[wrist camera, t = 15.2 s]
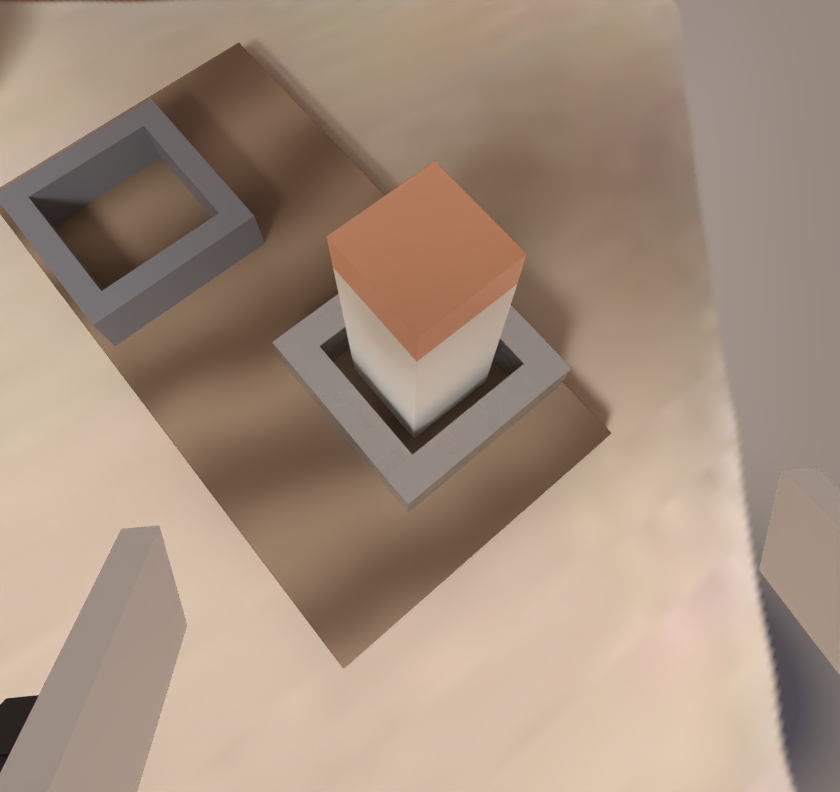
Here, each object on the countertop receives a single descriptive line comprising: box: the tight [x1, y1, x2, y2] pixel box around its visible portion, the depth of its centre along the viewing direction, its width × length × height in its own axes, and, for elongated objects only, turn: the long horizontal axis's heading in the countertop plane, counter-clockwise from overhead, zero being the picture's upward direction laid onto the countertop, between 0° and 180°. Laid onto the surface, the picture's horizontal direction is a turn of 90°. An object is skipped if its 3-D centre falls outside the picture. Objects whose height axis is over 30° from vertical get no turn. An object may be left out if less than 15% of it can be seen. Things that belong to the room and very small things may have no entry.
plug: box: [327, 161, 527, 438], centre depth 27 cm, size 4×4×12 cm
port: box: [272, 294, 571, 513], centre depth 32 cm, size 10×10×2 cm
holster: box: [0, 98, 264, 346], centre depth 34 cm, size 9×9×2 cm
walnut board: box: [0, 43, 611, 668], centre depth 35 cm, size 30×16×2 cm, turn 40°
